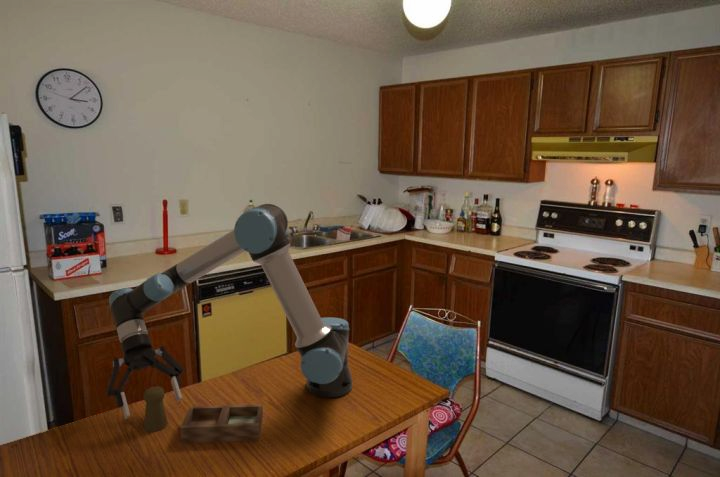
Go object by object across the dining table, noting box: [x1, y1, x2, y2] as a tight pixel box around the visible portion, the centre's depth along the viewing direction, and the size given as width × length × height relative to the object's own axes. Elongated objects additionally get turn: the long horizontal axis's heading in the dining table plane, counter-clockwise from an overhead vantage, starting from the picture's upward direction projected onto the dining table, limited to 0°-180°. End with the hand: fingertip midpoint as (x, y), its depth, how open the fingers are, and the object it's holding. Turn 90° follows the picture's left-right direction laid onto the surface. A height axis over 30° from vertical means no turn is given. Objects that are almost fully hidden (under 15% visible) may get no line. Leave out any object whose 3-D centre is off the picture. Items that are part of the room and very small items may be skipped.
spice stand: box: [179, 403, 264, 444], centre depth 124 cm, size 20×10×4 cm, turn 96°
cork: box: [143, 385, 168, 433], centre depth 125 cm, size 6×6×11 cm
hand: (154, 408), depth 124 cm, fingers open, 13 cm apart
